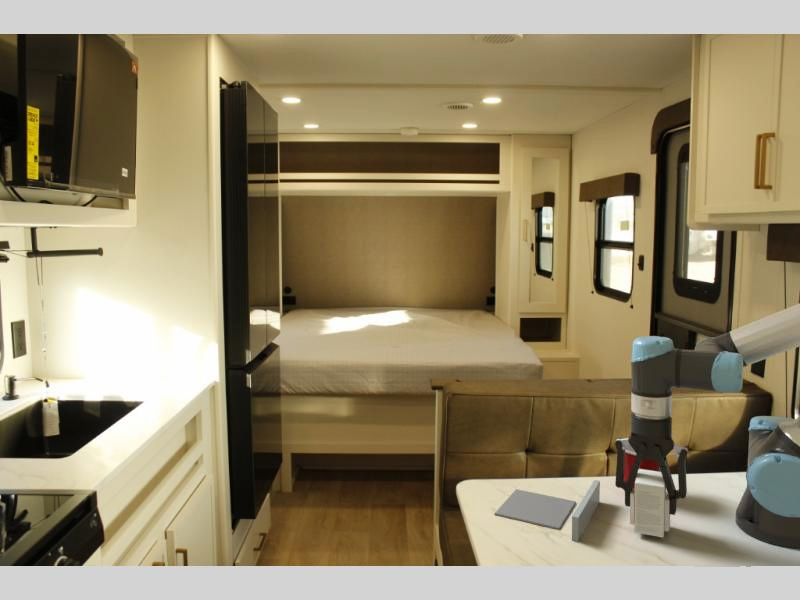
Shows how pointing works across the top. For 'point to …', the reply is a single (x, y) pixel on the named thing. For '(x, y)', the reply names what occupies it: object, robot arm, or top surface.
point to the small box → (649, 503)
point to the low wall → (585, 510)
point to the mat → (536, 509)
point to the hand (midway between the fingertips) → (649, 524)
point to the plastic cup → (629, 462)
